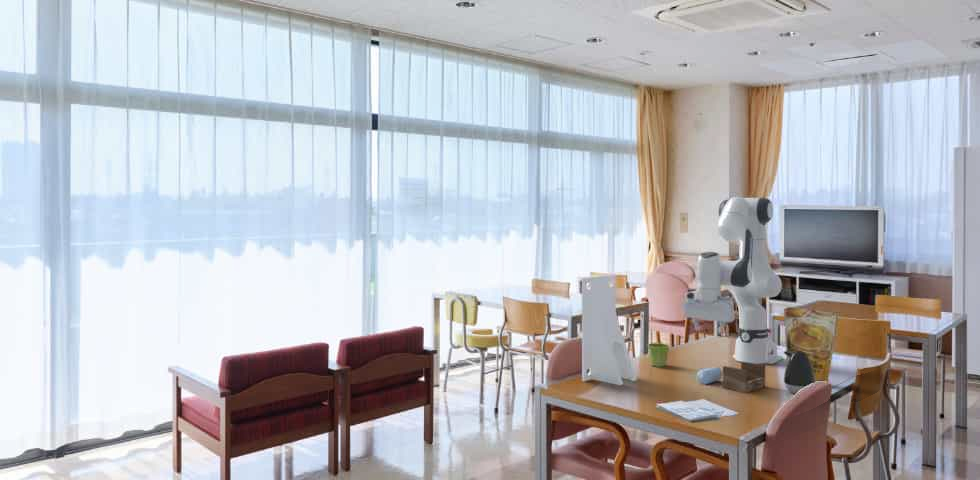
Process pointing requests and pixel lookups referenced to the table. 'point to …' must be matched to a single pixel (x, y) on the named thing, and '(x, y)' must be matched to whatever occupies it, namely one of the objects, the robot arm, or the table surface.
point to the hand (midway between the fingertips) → (708, 331)
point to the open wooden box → (744, 377)
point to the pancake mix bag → (812, 337)
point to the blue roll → (709, 375)
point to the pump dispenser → (798, 371)
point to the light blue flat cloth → (696, 410)
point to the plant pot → (658, 354)
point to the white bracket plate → (603, 333)
